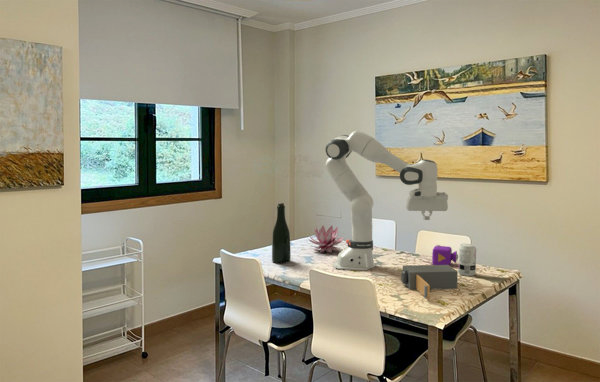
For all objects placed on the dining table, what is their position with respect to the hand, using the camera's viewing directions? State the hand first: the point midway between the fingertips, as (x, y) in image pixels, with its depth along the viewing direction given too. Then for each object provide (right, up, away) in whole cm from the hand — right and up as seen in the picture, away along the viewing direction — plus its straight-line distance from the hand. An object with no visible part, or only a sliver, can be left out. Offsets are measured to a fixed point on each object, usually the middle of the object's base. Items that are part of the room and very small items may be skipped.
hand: (426, 219), depth 244 cm
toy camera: (+16, -26, +22) cm, 38 cm away
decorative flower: (-47, -23, +54) cm, 75 cm away
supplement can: (+21, -28, +3) cm, 35 cm away
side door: (-10, -30, -31) cm, 45 cm away
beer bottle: (-74, -25, +30) cm, 83 cm away
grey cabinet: (-3, -30, -16) cm, 34 cm away
